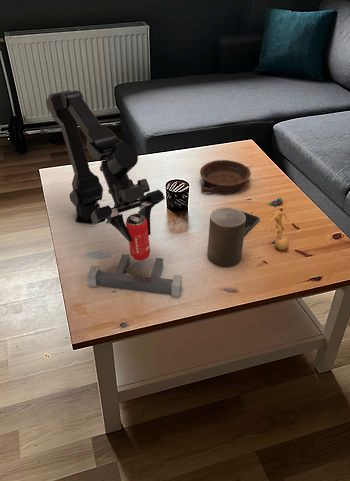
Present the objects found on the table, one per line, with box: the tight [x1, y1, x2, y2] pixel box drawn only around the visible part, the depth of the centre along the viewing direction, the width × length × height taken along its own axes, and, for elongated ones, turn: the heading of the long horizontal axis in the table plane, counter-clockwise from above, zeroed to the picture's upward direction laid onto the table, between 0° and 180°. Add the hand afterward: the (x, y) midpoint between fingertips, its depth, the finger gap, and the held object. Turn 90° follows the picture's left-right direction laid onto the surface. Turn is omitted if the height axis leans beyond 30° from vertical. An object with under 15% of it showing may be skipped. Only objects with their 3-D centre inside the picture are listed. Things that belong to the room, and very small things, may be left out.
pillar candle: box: [206, 206, 246, 268], centre depth 132 cm, size 10×10×15 cm
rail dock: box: [87, 253, 183, 298], centre depth 128 cm, size 24×11×4 cm, turn 80°
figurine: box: [270, 210, 290, 251], centre depth 137 cm, size 8×6×12 cm
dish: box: [199, 159, 252, 194], centre depth 168 cm, size 18×22×5 cm
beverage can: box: [125, 213, 151, 262], centre depth 123 cm, size 5×5×12 cm
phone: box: [240, 210, 260, 237], centre depth 148 cm, size 8×1×15 cm
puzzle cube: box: [267, 197, 284, 208], centre depth 158 cm, size 4×3×2 cm, turn 118°
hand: (140, 238), depth 121 cm, fingers closed on beverage can, 5 cm apart
